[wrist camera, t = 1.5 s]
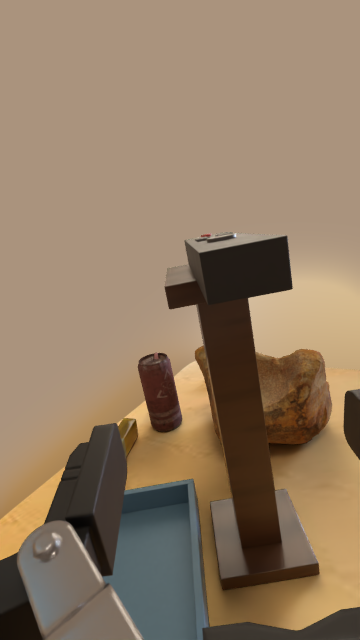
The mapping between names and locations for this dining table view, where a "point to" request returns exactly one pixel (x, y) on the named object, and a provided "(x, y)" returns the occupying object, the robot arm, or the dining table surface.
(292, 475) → the dining table surface
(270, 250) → the remote
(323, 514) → the dining table surface
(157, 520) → the tray
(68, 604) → the robot arm
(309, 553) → the stand
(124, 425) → the medication box
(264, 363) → the rough brown rock
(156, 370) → the can
